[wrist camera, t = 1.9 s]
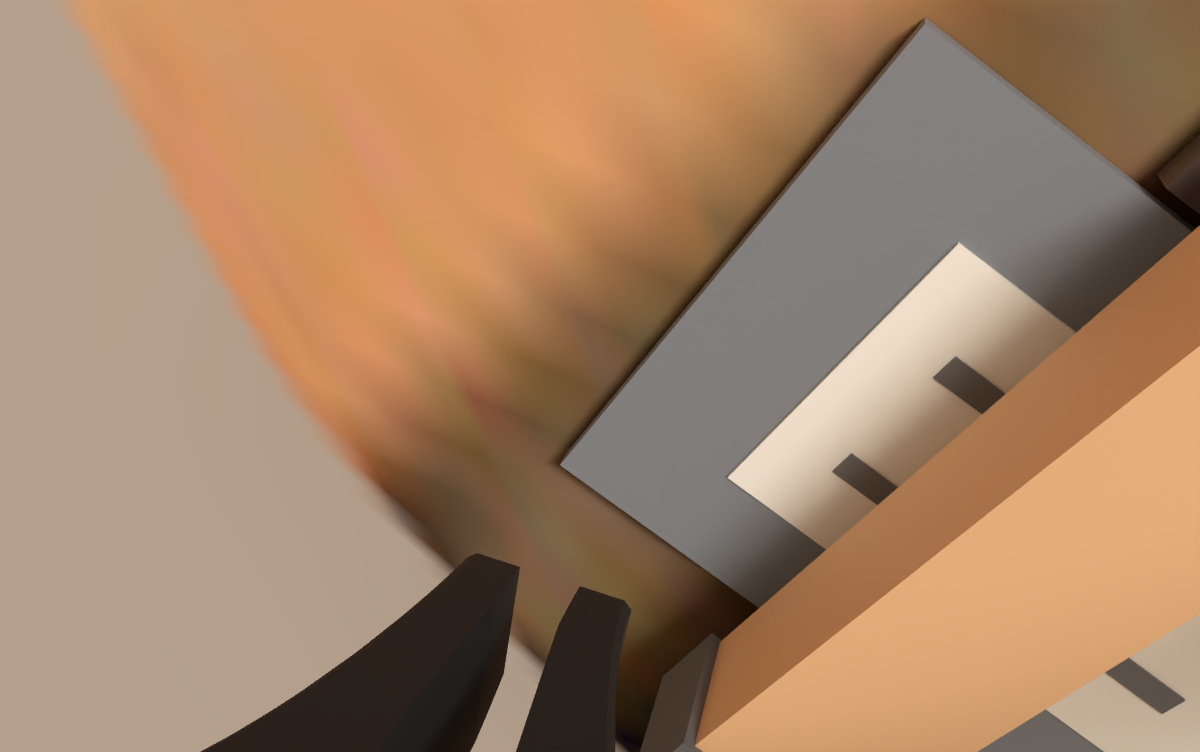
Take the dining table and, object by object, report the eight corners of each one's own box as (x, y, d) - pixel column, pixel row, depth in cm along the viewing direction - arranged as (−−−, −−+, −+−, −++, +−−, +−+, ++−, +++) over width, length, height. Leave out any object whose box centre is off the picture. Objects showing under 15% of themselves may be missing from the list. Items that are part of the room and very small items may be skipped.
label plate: (1695, 619, 18) (1723, 648, 18) (1154, 873, 25) (1160, 901, 24) (925, 17, 17) (925, 25, 16) (567, 451, 24) (557, 468, 23)
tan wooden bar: (1376, 16, 15) (1566, 101, 10) (1578, 181, 15) (1843, 329, 11) (669, 652, 24) (616, 830, 20) (799, 744, 25) (773, 939, 20)
